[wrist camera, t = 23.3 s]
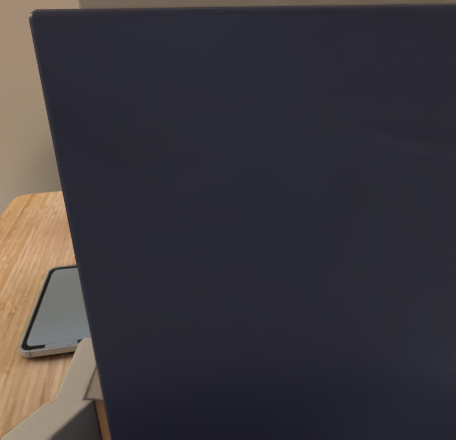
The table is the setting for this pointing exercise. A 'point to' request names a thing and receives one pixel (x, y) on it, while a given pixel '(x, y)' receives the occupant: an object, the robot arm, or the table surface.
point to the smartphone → (56, 316)
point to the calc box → (261, 212)
